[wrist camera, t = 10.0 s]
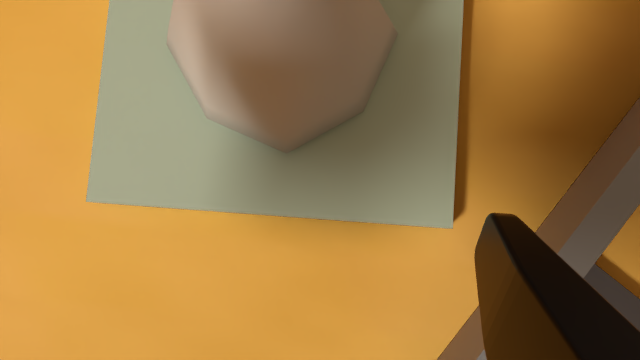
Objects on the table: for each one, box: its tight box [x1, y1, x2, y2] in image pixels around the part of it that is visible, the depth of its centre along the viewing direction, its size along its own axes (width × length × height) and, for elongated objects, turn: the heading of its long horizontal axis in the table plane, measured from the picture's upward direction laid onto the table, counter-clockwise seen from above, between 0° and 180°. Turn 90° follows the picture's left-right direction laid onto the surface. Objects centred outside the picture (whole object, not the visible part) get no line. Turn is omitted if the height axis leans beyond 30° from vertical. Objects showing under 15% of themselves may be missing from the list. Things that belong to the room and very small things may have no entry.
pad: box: [86, 0, 464, 229], centre depth 17 cm, size 12×12×1 cm
